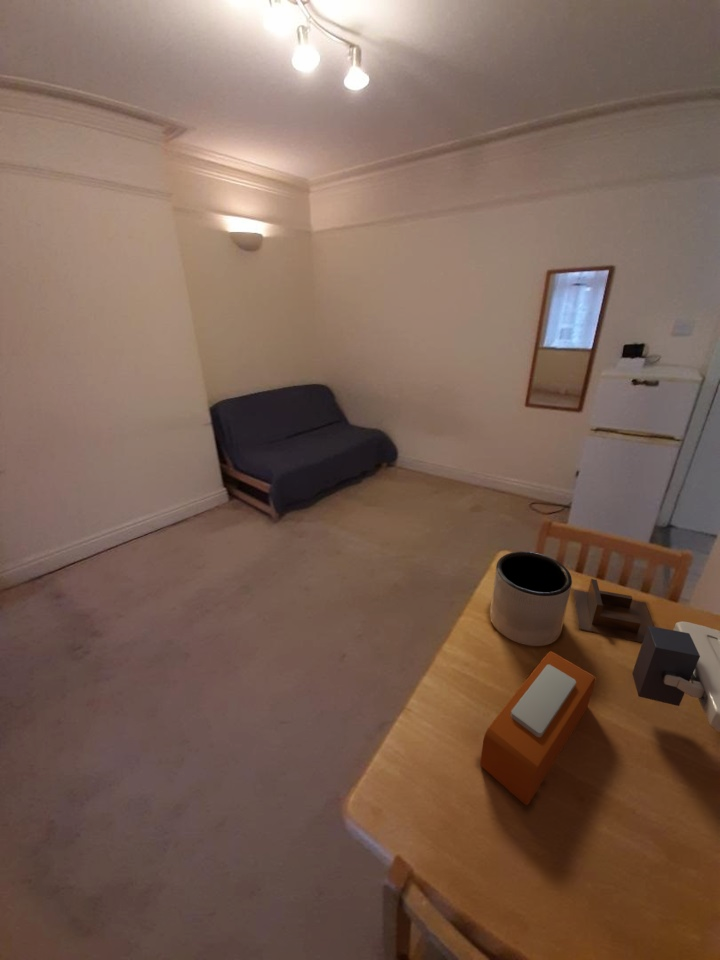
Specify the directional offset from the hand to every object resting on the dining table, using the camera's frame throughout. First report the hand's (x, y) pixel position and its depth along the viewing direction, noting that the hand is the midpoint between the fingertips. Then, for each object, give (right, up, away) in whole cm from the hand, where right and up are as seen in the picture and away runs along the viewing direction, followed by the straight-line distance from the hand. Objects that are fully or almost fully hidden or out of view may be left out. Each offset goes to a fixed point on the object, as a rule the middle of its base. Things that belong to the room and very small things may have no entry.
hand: (658, 661), depth 70 cm
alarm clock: (-20, -15, +3) cm, 25 cm away
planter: (-12, -3, +27) cm, 30 cm away
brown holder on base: (+9, -2, +27) cm, 28 cm away
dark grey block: (+1, -6, +3) cm, 7 cm away
